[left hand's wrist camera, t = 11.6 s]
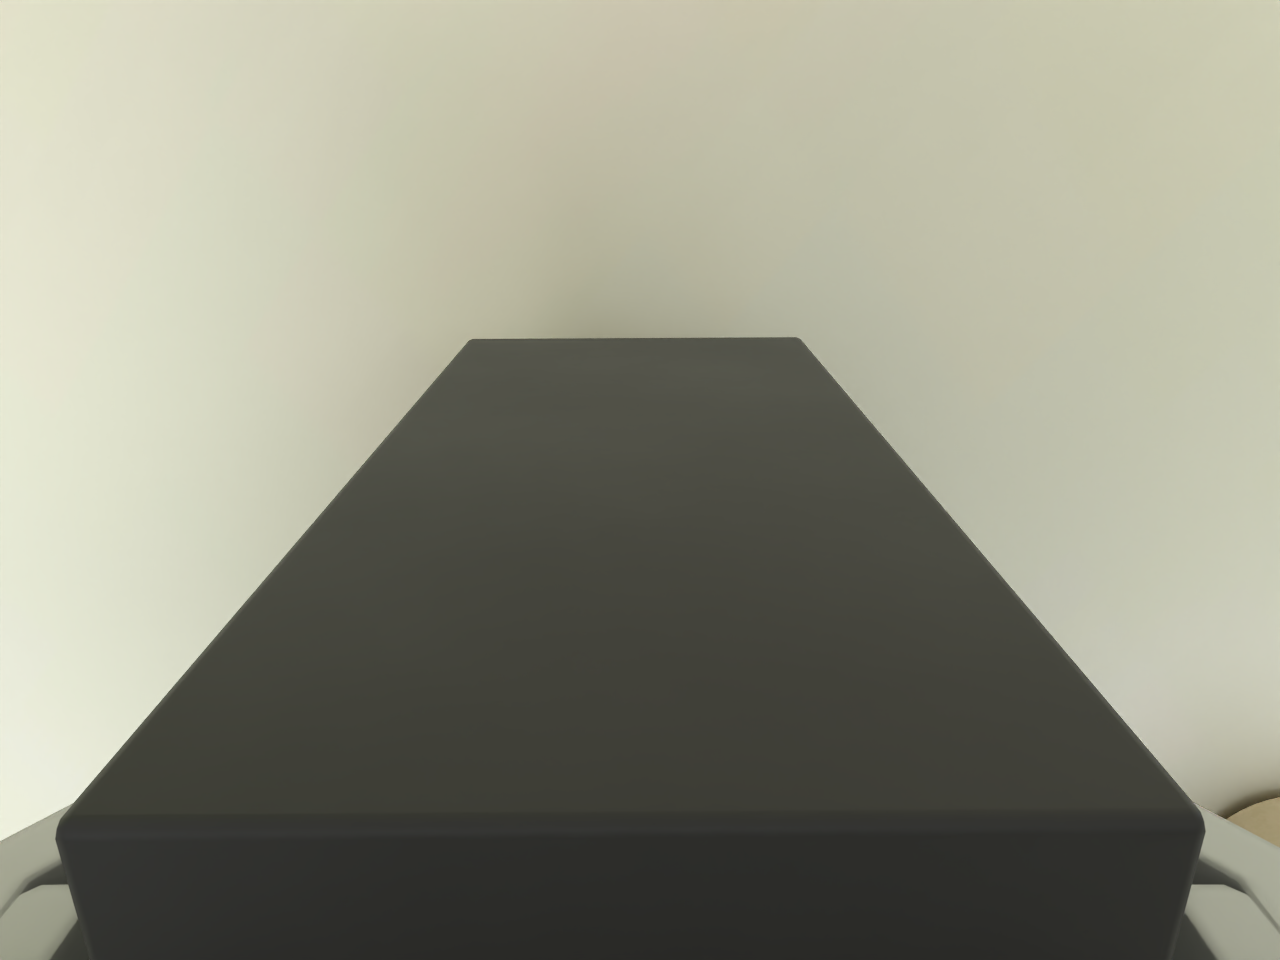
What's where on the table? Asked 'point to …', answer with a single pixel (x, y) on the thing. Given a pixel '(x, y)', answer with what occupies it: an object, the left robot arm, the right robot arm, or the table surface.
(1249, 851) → the left robot arm
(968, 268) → the table surface
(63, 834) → the box
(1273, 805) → the candle
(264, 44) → the table surface
